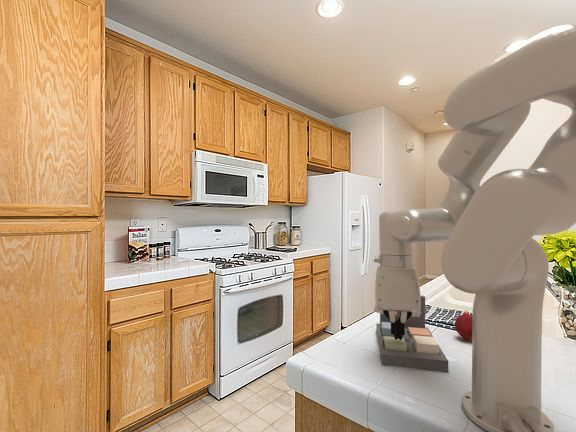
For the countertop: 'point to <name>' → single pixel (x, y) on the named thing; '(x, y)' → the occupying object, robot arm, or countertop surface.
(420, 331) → the terracotta key
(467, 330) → the red spiky ovoid
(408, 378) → the countertop surface
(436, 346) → the cream key
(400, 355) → the keypad
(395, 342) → the sage key
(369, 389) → the countertop surface
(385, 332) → the slate key
